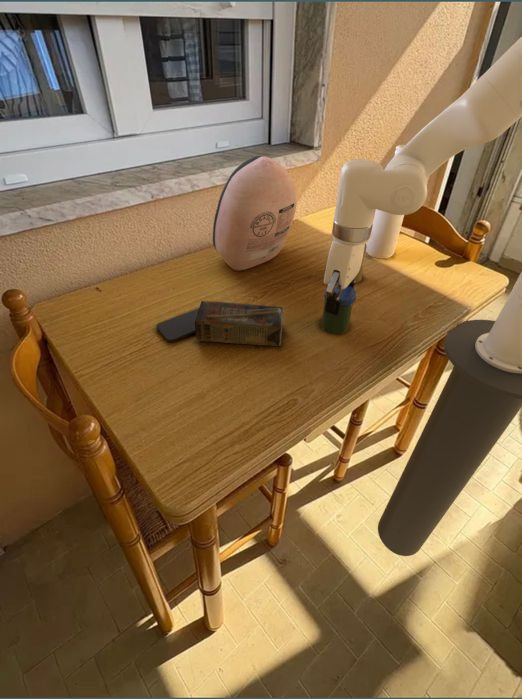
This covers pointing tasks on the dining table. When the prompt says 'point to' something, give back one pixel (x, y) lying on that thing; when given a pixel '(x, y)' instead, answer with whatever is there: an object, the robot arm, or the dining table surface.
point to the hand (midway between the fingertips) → (338, 304)
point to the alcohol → (384, 231)
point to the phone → (178, 326)
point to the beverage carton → (239, 323)
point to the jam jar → (337, 319)
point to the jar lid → (345, 295)
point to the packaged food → (254, 213)
